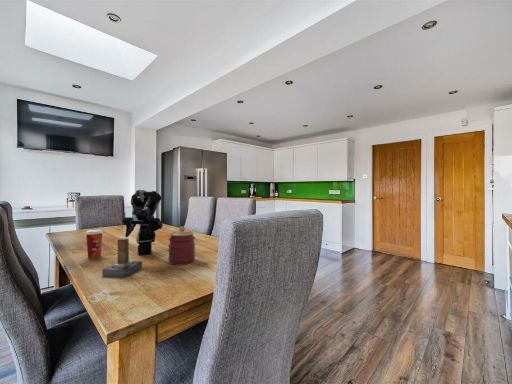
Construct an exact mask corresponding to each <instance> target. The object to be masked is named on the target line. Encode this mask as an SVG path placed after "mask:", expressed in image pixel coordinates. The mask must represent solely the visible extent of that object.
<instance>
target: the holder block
mask: <svg viewBox="0 0 512 384" xmlns="http://www.w3.org/2000/svg"><path fill="white" fill-rule="evenodd" d="M131 261H132V265H129V266H127V267H125V268H114V265H115V264H117V263H118V262H116V263H113V264H110V265H107V266H106V267H104V268H102V270H101V271H102V273H101V274H102V277H107V278H108V277H109V278H110V277H111V278H126V277H129V276H130V275H132V274H133V273H136V272H138V271H139V270H141V269H143V261H138V260H131Z"/></svg>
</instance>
